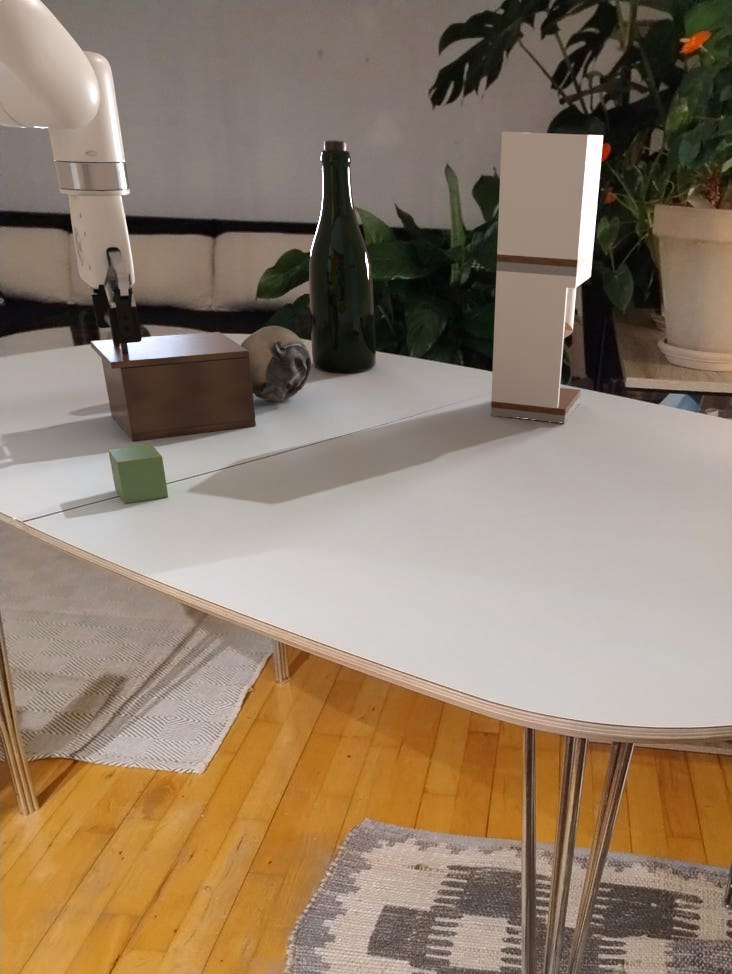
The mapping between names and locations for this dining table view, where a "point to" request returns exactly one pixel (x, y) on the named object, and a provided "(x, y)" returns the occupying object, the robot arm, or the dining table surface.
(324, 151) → the dark green glass bottle
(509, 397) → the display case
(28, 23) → the robot arm
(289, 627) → the dining table surface
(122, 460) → the block
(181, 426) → the chest
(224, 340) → the chest door
